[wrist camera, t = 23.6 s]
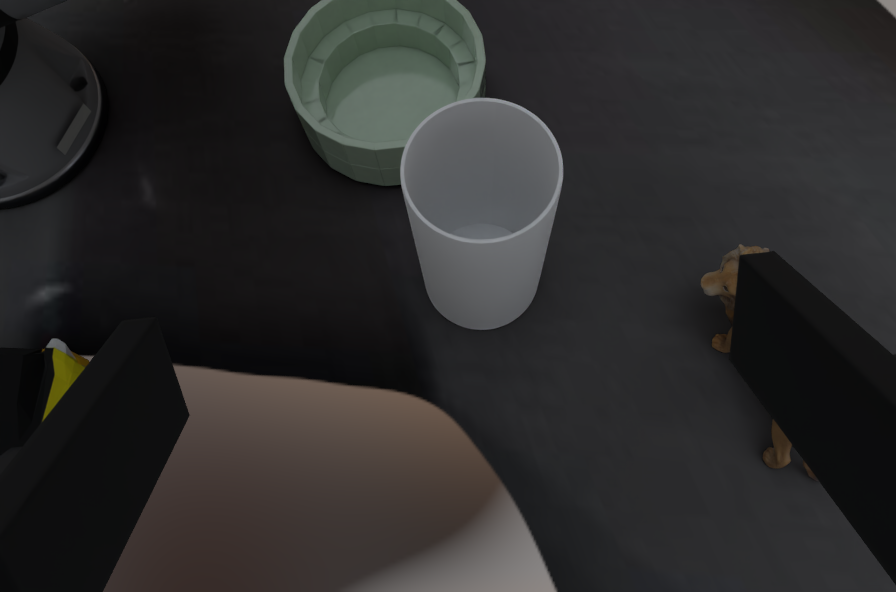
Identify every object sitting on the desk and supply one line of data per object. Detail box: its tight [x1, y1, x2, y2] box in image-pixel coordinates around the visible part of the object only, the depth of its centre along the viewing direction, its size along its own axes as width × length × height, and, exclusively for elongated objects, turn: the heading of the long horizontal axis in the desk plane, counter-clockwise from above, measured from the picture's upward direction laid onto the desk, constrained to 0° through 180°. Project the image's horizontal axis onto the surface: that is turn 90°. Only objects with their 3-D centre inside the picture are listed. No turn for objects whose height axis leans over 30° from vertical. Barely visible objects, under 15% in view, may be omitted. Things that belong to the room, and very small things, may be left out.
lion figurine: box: [701, 245, 819, 482], centre depth 42 cm, size 15×5×9 cm, turn 25°
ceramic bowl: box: [284, 0, 486, 186], centre depth 52 cm, size 14×14×6 cm
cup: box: [400, 98, 563, 330], centre depth 42 cm, size 8×8×16 cm
